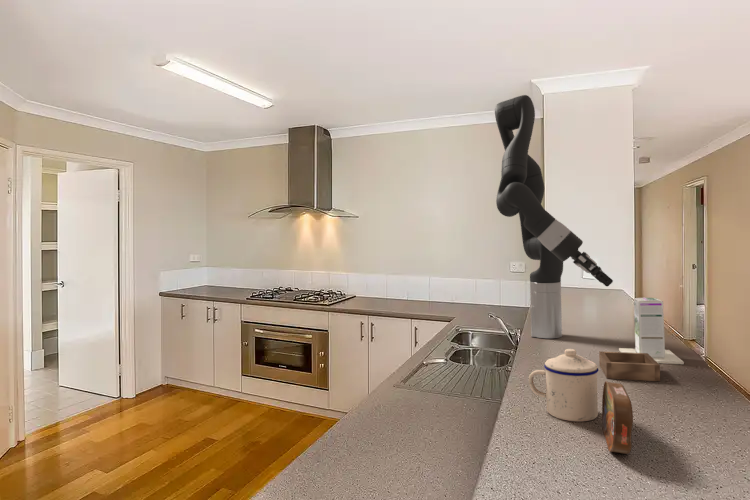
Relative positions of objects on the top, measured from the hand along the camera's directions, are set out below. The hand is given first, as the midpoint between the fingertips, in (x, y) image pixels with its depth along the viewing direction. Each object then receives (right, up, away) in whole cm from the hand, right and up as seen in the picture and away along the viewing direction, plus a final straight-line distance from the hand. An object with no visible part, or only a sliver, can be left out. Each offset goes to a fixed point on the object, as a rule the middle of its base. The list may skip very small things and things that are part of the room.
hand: (607, 282), depth 123 cm
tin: (-23, -22, -49) cm, 59 cm away
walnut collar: (-3, -20, -15) cm, 25 cm away
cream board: (+10, -19, -2) cm, 22 cm away
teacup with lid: (-26, -22, -37) cm, 50 cm away
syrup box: (+10, -19, -3) cm, 21 cm away
